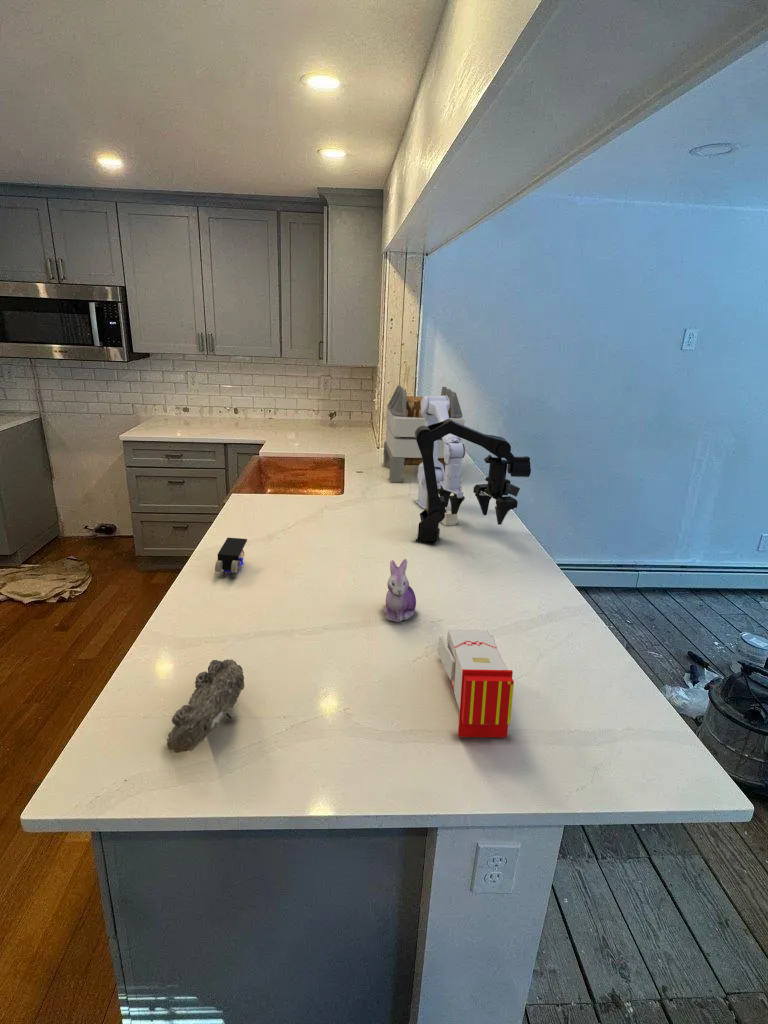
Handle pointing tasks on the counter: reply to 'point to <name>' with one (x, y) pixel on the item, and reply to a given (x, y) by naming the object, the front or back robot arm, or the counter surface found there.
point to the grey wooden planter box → (410, 430)
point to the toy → (478, 682)
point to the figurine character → (230, 556)
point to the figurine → (399, 594)
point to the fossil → (206, 705)
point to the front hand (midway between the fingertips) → (492, 519)
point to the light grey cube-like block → (449, 518)
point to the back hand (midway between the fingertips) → (449, 510)
